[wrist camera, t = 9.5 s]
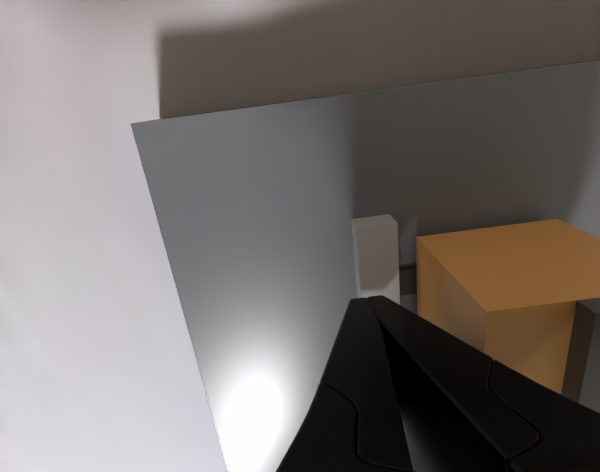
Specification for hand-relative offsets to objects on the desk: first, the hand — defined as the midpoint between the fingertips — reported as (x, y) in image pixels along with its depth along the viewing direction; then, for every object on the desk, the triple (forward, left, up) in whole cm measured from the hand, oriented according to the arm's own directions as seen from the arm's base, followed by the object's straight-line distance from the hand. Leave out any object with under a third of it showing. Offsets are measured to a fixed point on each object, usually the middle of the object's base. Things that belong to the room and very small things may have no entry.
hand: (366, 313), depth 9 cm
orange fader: (0, -3, -1) cm, 4 cm away
